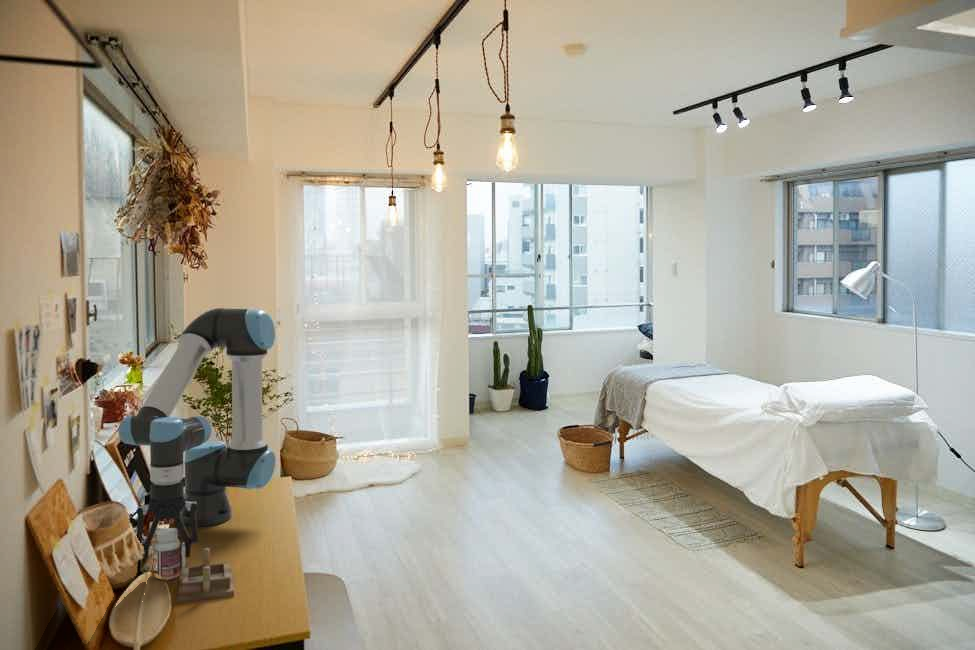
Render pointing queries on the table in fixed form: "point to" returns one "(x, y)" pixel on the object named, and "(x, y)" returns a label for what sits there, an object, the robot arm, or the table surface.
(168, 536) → the pill bottle
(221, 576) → the holder
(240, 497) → the table surface
